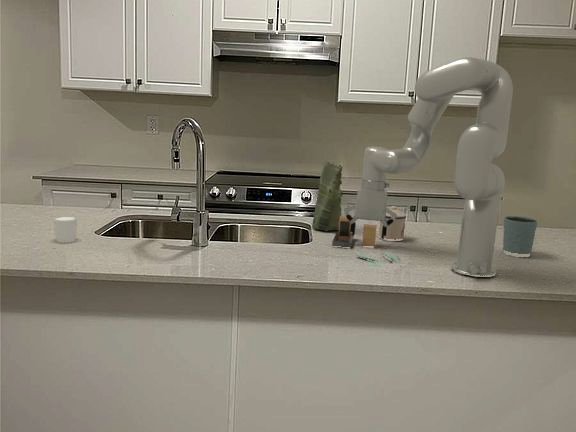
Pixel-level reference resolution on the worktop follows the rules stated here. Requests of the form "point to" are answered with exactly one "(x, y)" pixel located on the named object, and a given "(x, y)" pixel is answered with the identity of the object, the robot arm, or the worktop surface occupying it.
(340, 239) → the rail
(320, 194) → the pouch
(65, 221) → the white cylinder
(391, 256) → the cloth
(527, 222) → the teal plant pot
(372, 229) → the tan wooden block
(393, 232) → the teacup with lid
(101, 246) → the worktop surface
